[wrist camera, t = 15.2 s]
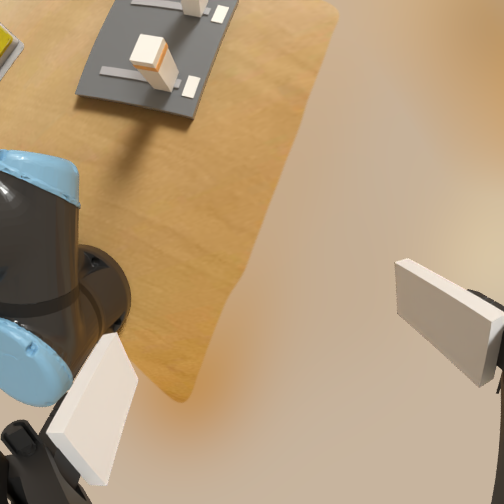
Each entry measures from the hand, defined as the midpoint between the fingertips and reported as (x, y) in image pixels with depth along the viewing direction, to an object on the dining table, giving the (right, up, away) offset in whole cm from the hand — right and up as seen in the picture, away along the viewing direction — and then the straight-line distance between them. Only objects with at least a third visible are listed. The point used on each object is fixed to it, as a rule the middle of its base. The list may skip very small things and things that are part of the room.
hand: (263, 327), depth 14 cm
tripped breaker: (-12, +26, +22) cm, 36 cm away
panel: (-14, +33, +23) cm, 43 cm away
